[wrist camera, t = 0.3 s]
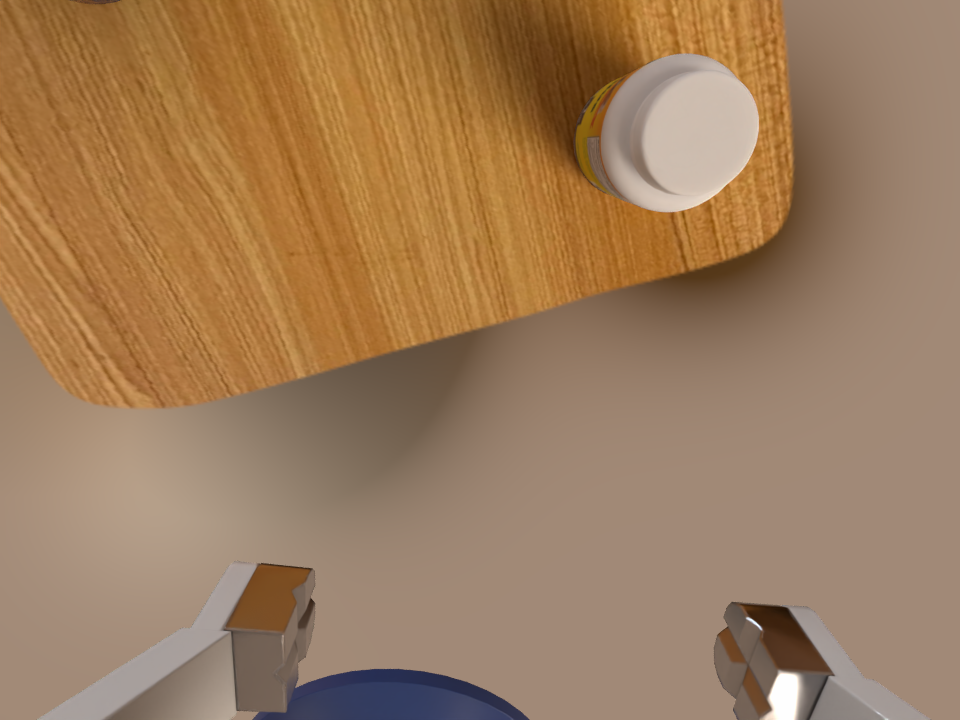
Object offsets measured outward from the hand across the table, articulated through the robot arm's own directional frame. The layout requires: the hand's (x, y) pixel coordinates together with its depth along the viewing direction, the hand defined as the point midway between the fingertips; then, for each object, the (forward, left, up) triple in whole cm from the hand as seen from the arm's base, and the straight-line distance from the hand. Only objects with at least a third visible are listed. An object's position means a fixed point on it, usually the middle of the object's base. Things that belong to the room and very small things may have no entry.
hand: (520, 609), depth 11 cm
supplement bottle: (+9, -6, -22) cm, 25 cm away
